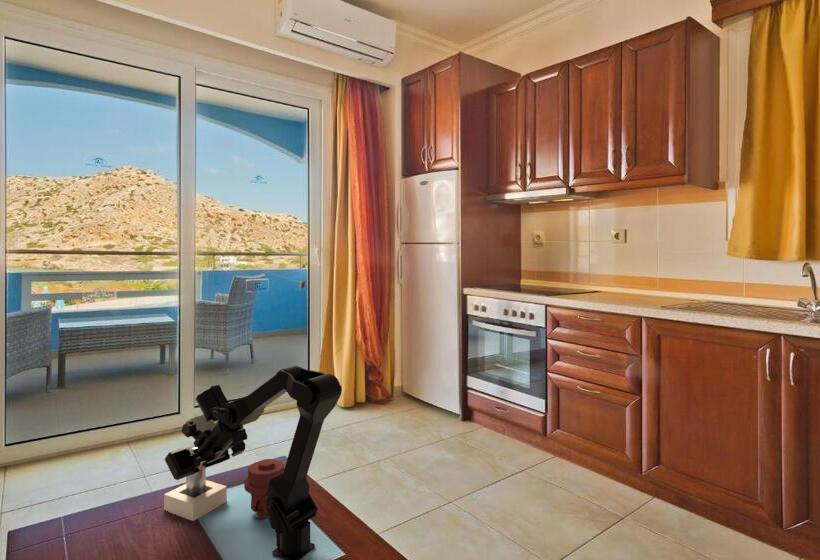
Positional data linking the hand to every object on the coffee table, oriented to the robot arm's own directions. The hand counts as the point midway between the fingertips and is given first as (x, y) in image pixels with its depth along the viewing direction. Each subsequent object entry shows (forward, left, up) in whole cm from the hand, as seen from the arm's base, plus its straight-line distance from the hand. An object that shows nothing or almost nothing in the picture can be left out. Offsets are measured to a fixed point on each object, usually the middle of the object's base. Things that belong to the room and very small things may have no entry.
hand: (192, 470), depth 120 cm
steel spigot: (-1, 0, -7) cm, 7 cm away
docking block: (-1, 0, -9) cm, 9 cm away
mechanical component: (-18, -6, -9) cm, 21 cm away
